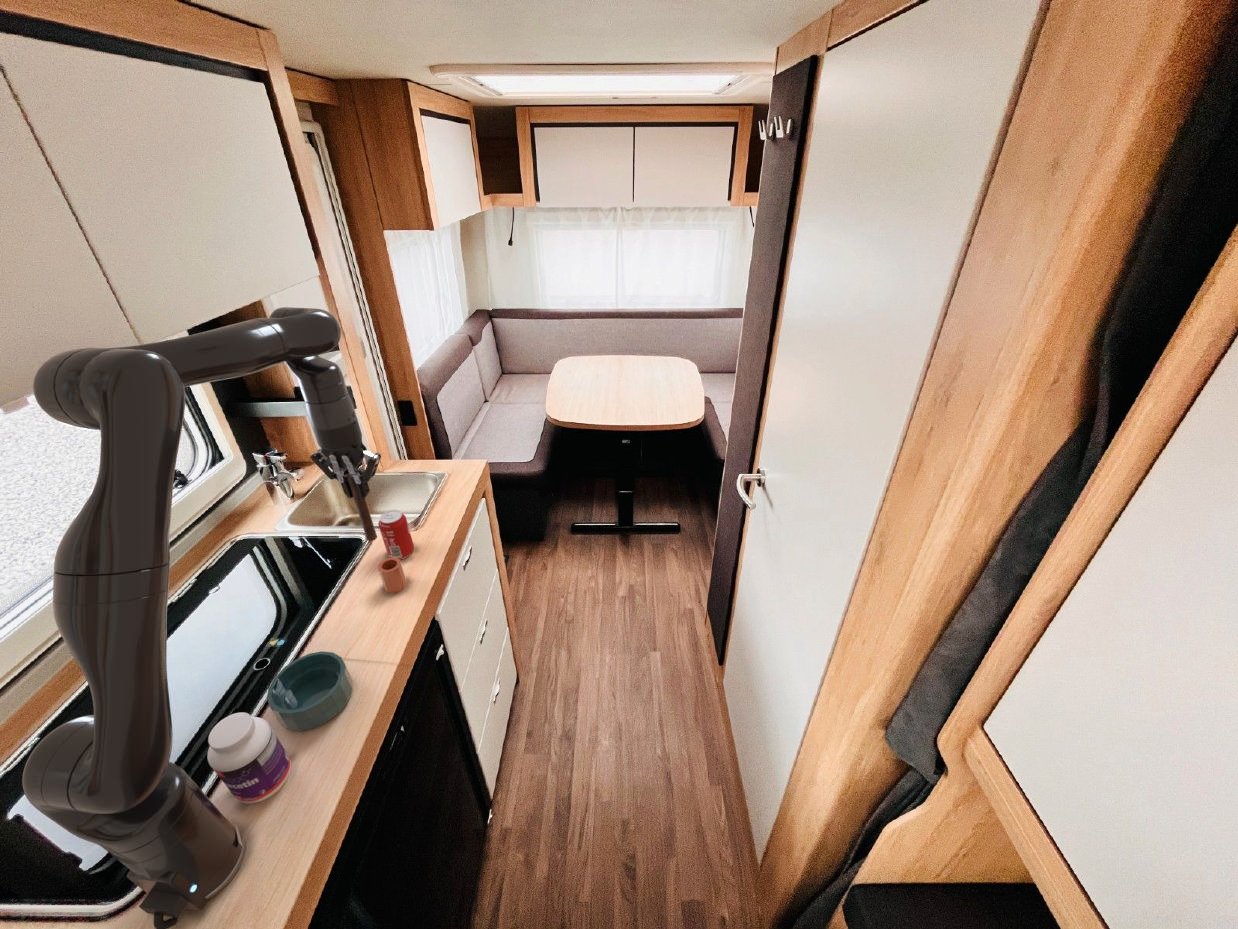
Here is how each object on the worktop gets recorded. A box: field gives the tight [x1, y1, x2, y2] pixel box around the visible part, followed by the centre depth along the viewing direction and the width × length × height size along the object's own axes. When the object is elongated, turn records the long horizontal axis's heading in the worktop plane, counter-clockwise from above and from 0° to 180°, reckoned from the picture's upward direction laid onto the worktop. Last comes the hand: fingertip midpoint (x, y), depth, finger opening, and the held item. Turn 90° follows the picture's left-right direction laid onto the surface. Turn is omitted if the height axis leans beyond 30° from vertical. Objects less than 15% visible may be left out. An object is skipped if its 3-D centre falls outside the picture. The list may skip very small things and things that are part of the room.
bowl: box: [266, 651, 354, 732], centre depth 93 cm, size 12×13×6 cm
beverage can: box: [377, 509, 415, 560], centre depth 125 cm, size 6×6×12 cm
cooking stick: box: [346, 473, 378, 542], centre depth 104 cm, size 2×2×16 cm
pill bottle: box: [206, 711, 292, 805], centre depth 79 cm, size 8×8×14 cm
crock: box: [377, 557, 408, 594], centre depth 117 cm, size 5×5×7 cm
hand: (358, 495), depth 102 cm, fingers closed on cooking stick, 2 cm apart
